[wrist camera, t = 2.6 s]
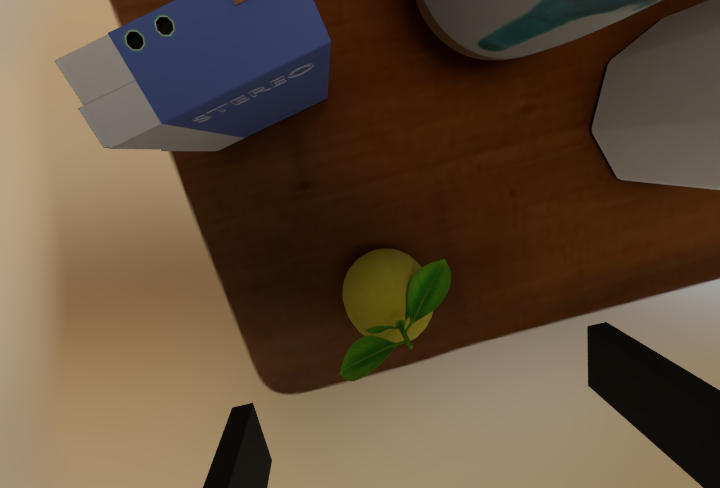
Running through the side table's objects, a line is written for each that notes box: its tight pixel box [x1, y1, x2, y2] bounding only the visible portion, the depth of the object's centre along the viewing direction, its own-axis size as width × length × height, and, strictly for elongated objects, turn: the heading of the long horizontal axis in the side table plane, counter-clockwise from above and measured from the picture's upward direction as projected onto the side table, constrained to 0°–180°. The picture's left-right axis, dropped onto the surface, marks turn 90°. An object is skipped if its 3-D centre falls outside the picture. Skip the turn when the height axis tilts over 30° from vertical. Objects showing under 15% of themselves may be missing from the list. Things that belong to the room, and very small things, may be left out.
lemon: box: [340, 249, 451, 381], centre depth 20 cm, size 7×6×10 cm
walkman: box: [55, 0, 331, 151], centre depth 16 cm, size 8×3×12 cm, turn 115°
